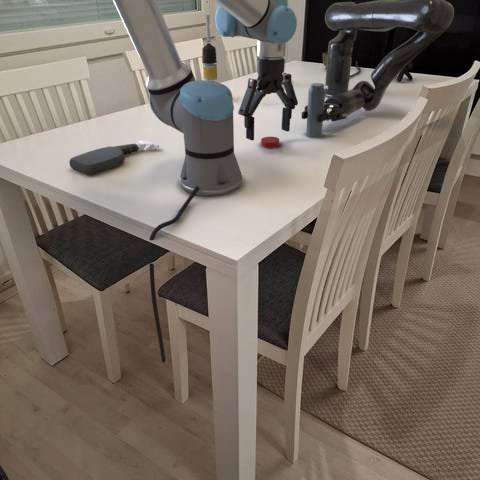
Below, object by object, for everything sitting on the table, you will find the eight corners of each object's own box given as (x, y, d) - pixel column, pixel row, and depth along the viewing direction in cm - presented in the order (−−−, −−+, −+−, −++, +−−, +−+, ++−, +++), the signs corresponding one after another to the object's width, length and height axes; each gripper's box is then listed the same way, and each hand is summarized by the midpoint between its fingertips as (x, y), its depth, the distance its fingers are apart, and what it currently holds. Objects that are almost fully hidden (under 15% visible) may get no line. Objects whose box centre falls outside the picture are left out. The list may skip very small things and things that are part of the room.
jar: (303, 133, 141) (306, 83, 133) (317, 131, 142) (321, 82, 134) (310, 138, 137) (313, 87, 129) (324, 136, 138) (328, 85, 130)
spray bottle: (67, 168, 120) (139, 144, 136) (91, 178, 114) (163, 151, 130) (65, 157, 118) (137, 134, 134) (89, 167, 112) (162, 142, 128)
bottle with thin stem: (220, 99, 177) (217, 15, 161) (206, 100, 176) (202, 16, 160) (215, 96, 182) (212, 14, 166) (202, 97, 180) (197, 14, 164)
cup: (319, 70, 220) (320, 53, 216) (324, 67, 226) (325, 50, 221) (333, 71, 217) (335, 54, 213) (338, 69, 222) (340, 51, 218)
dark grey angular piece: (400, 92, 202) (376, 71, 205) (417, 76, 202) (392, 56, 205) (405, 81, 191) (380, 59, 194) (423, 64, 191) (397, 42, 194)
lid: (281, 147, 131) (281, 141, 130) (263, 148, 130) (263, 143, 129) (276, 141, 136) (276, 135, 135) (259, 142, 135) (259, 137, 134)
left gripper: (242, 64, 111) (242, 146, 122) (313, 54, 124) (307, 129, 135) (225, 60, 116) (226, 139, 127) (295, 51, 129) (290, 124, 140)
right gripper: (323, 90, 148) (291, 101, 137) (361, 97, 139) (331, 109, 129) (321, 113, 152) (290, 125, 141) (358, 121, 143) (329, 134, 133)
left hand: (268, 134), depth 131 cm, fingers open, 13 cm apart
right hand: (310, 117), depth 135 cm, fingers closed on jar, 5 cm apart
